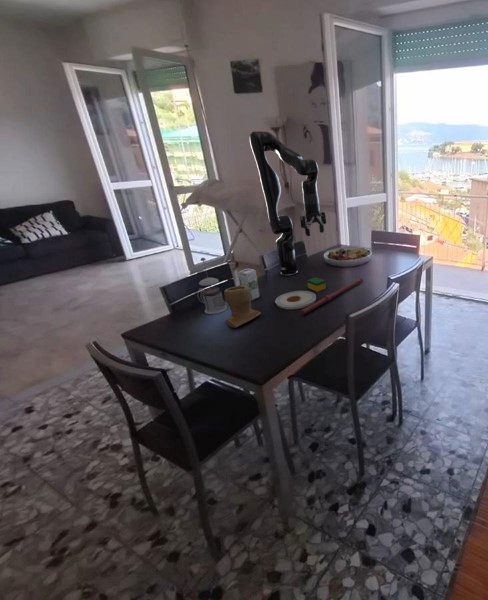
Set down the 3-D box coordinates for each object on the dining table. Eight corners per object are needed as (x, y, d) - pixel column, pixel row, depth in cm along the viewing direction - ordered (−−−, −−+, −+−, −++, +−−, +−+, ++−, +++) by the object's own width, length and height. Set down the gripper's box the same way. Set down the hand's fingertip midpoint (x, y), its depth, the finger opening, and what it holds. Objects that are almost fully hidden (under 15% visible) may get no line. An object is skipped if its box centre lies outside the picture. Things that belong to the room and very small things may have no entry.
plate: (268, 302, 171) (267, 299, 170) (301, 289, 184) (300, 287, 183) (290, 313, 160) (290, 310, 159) (324, 299, 173) (324, 296, 172)
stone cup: (246, 310, 162) (239, 280, 156) (265, 315, 158) (259, 284, 151) (217, 325, 150) (209, 292, 144) (237, 331, 145) (229, 297, 139)
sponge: (308, 288, 186) (307, 280, 184) (316, 285, 190) (315, 277, 188) (317, 291, 181) (316, 283, 179) (326, 288, 185) (325, 280, 183)
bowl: (333, 253, 242) (331, 242, 239) (376, 254, 238) (375, 242, 235) (317, 267, 215) (316, 255, 212) (366, 269, 211) (365, 256, 208)
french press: (232, 306, 167) (220, 255, 157) (213, 317, 157) (198, 263, 147) (215, 303, 170) (202, 253, 160) (196, 314, 160) (180, 261, 150)
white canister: (252, 295, 179) (246, 267, 173) (260, 296, 177) (255, 269, 171) (243, 299, 174) (237, 271, 168) (251, 301, 172) (246, 273, 166)
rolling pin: (306, 316, 156) (305, 310, 155) (300, 315, 158) (299, 308, 156) (364, 282, 192) (363, 277, 190) (359, 281, 193) (358, 276, 192)
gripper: (318, 199, 185) (321, 230, 192) (294, 203, 175) (299, 235, 182) (327, 201, 180) (330, 232, 187) (303, 205, 171) (308, 238, 177)
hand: (315, 234), depth 185 cm, fingers open, 8 cm apart
